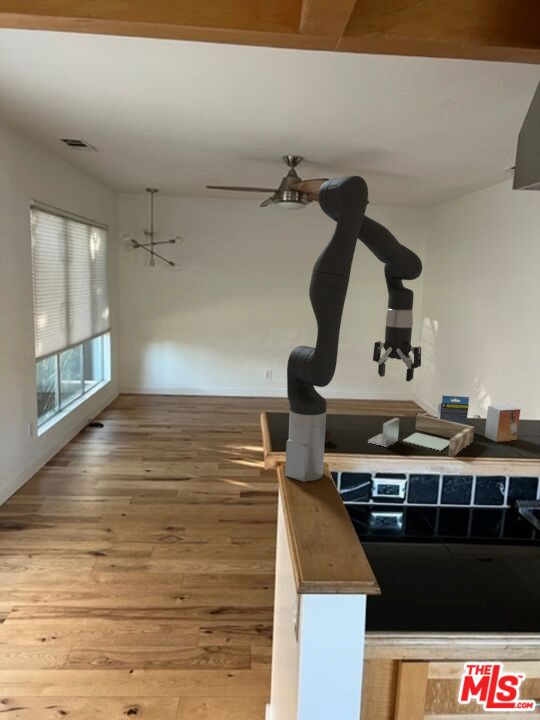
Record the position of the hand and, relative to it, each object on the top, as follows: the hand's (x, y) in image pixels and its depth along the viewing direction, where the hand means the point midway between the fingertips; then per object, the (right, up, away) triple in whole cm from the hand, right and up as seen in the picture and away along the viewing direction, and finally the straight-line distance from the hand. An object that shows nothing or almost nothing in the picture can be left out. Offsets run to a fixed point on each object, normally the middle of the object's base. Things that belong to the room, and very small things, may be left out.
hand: (395, 378), depth 151 cm
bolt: (-22, -19, +10) cm, 30 cm away
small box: (+37, -20, +12) cm, 44 cm away
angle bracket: (-2, -20, +6) cm, 21 cm away
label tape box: (+23, -18, +19) cm, 35 cm away
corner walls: (+14, -20, +7) cm, 25 cm away
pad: (+12, -20, +7) cm, 24 cm away
